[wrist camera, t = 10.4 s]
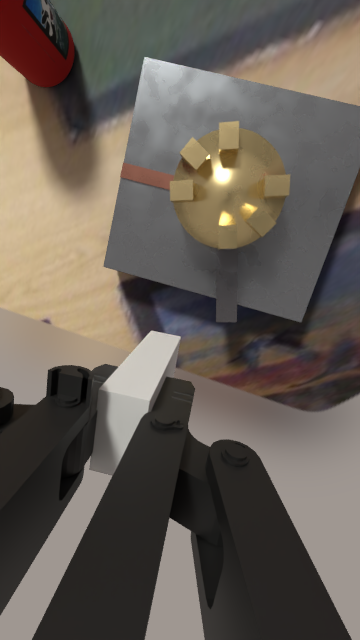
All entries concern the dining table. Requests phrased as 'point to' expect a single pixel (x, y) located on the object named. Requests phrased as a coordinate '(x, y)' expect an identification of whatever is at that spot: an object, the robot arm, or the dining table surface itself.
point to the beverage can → (35, 41)
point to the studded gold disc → (228, 199)
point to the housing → (299, 161)
